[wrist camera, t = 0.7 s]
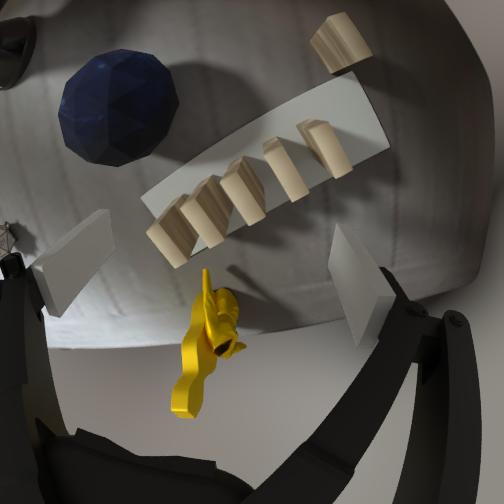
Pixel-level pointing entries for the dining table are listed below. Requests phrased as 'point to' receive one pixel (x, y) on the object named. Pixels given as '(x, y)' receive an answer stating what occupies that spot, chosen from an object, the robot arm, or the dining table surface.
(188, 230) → the tile
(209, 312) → the figure statuette
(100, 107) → the decorative orb
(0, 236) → the game die
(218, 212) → the tile
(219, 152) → the runner mat
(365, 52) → the tile
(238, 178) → the tile
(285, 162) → the tile
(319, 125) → the tile
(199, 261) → the dining table surface
